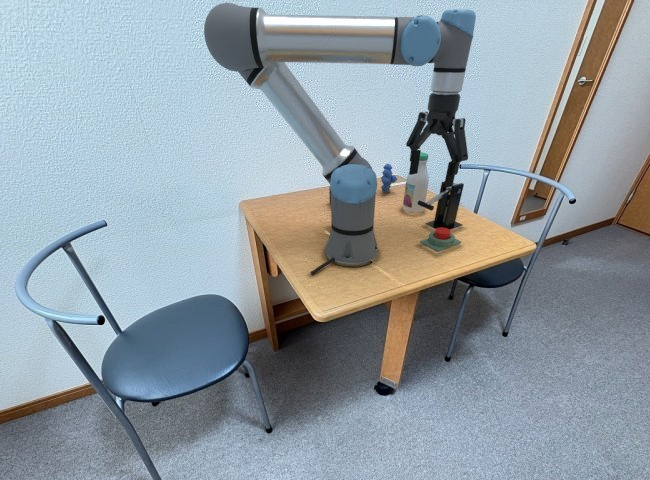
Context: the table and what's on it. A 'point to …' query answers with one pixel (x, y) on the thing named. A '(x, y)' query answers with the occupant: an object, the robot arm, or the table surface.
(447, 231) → the button
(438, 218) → the bracket
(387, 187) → the grapes
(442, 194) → the lever
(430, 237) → the button box
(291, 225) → the table surface
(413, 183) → the milk bottle
